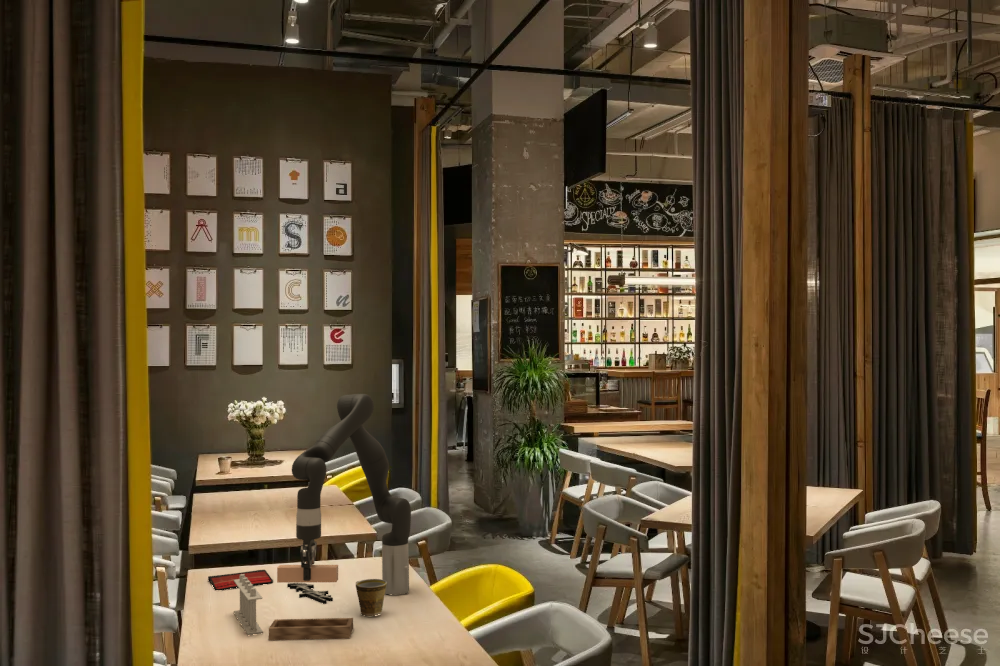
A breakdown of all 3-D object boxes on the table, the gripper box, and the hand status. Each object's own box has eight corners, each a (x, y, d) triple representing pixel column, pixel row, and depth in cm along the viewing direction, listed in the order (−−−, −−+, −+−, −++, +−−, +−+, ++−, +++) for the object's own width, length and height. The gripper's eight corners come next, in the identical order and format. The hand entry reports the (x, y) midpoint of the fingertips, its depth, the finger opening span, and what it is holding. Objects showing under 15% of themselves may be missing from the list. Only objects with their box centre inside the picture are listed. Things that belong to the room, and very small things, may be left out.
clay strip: (338, 579, 273) (338, 564, 273) (336, 582, 270) (336, 567, 270) (279, 579, 273) (279, 564, 273) (277, 582, 270) (277, 567, 270)
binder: (208, 575, 328) (265, 568, 338) (207, 581, 329) (264, 574, 338) (215, 588, 314) (274, 580, 324) (215, 594, 314) (274, 586, 324)
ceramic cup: (393, 613, 288) (392, 582, 288) (369, 620, 280) (368, 589, 280) (368, 605, 296) (367, 575, 297) (344, 612, 289) (343, 581, 289)
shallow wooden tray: (353, 628, 273) (353, 617, 273) (349, 638, 264) (349, 627, 264) (275, 630, 272) (274, 619, 272) (268, 640, 263) (268, 628, 263)
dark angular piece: (277, 585, 317) (302, 580, 324) (277, 589, 317) (302, 584, 324) (318, 602, 297) (343, 596, 304) (318, 606, 297) (343, 600, 304)
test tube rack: (263, 633, 269) (262, 590, 269) (248, 636, 267) (247, 592, 267) (247, 611, 291) (247, 571, 291) (233, 613, 289) (233, 573, 289)
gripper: (316, 526, 265) (316, 584, 264) (325, 518, 279) (324, 572, 279) (291, 527, 265) (291, 584, 264) (301, 518, 279) (300, 572, 278)
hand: (308, 578), depth 271 cm, fingers closed on clay strip, 3 cm apart
